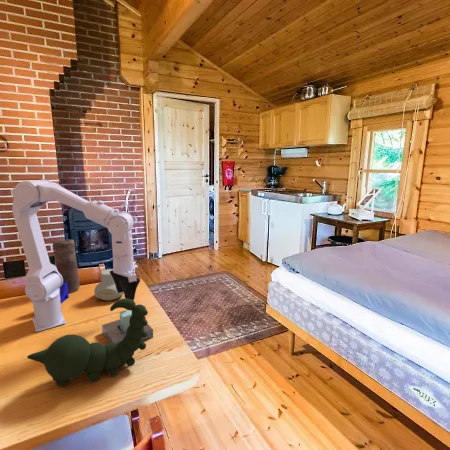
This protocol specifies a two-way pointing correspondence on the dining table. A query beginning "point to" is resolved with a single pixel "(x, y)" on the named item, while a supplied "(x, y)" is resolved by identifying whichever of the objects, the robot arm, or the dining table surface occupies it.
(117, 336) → the port block
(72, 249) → the candle
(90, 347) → the toy figurine
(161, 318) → the dining table surface
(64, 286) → the cable clip
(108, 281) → the air freshener
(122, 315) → the plug
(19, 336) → the dining table surface
